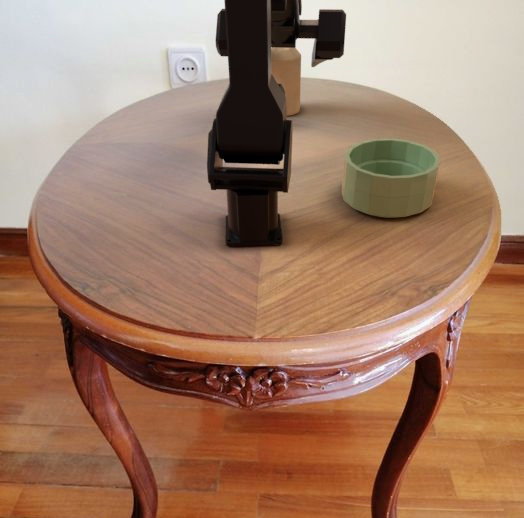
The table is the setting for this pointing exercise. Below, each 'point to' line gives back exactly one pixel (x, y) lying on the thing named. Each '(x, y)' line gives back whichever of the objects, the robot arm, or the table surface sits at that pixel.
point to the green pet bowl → (389, 177)
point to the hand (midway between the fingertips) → (284, 63)
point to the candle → (288, 75)
